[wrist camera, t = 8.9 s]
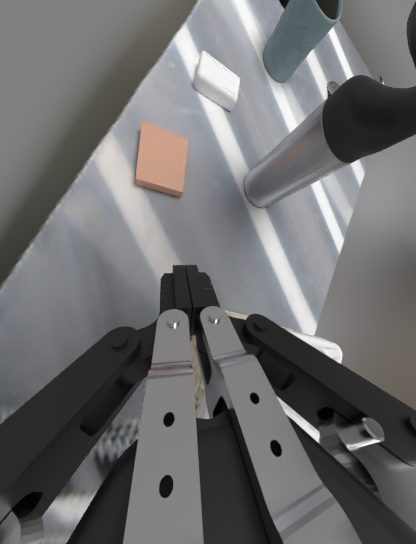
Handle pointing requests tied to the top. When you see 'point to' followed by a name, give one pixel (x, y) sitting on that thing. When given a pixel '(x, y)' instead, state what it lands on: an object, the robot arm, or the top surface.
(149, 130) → the terracotta tile
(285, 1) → the webcam
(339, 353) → the storage basket
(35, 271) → the top surface
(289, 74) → the green ceramic cup
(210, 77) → the soap
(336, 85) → the ceramic fragment
